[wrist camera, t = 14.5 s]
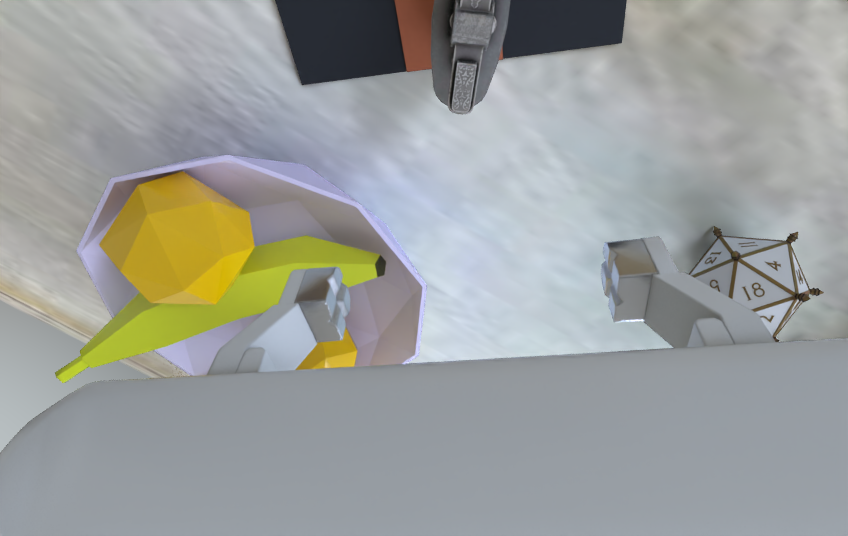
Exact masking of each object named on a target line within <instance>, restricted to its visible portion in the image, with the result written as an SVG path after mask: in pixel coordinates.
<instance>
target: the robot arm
mask: <svg viewBox="0 0 848 536" xmlns="http://www.w3.org/2000/svg"><path fill="white" fill-rule="evenodd" d="M603 255H604V258H605V262H604V263H603V264H602V269H601V277H602V286H603V290H604V293H605V295H606V296H607V297H609V305H608V306H609V309H610V312H611V315H612V318H613V321H614V322H630V321H644V323H646V324H647V325H648V326H649V327H650V328H651V329H653V330H654V331H655V332H656V333H657V334H658V335H660V336H661V337H662V338H663V339H664V340H665V341H667V342H668V343H669V344H670V345H671V346H672V347H673V348H667V349H650V350H633V351H617V352H600V353H582V354H565V355H547V356H530V357H512V358H495V359H478V360H461V361H444V362H427V363H410V364H393V365H375V366H358V367H340V368H323V369H305V370H295V369H296V368H297V367H298V366H299V365H300V364H301V362H302V361H303V360H304V359H305V358H306V357H307V355H308V354H309V353H310V352H311V351H312V350H313V349H314V347H315V346H316V345H317V343H319V342H330V341H340V340H343V336H344V332H345V328H346V323H345V320H344V318H345V317H346V316H347V315H348V314H349V311H350V294H349V290H348V288H347V286H346V285H345V284H343V283H342V278H343V274H342V272H341V269H340V268H339V267H324V268H309V269H298V270H293V271H292V272H291V273H290V276H289V278H288V281H287V283H286V286H285V288H284V291H283V293H282V295H281V298H280V300H279V303H278V305H273V306H272V307H271V308H269V309H268V310H267V311H266V312H264V313H263V314H262V315H261V316H259V317H258V318H257V319H256V320H254V321H253V322H252V323H251V324H250V325H248V326H247V327H246V328H245V329H243V330H242V331H241V332H240V333H238V334H237V335H236V336H235V337H233V338H232V339H231V340H230V341H228V342H227V343H226V344H225V345H224V346H222V347H221V348H220V349H219V350H218V352H217V354H216V356H215V358H214V360H213V363H212V365H211V367H210V369H209V371H208V373H207V375H201V376H183V377H166V378H149V379H132V380H109V381H97V382H92V383H89V384H86V385H84V386H82V387H81V388H79V389H77V390H76V391H74V392H72V393H71V394H69V395H67V396H66V397H64V398H63V399H61V400H60V401H58V402H57V403H55V404H54V405H52V406H51V407H49V408H48V409H46V410H45V411H43V412H42V413H40V414H39V415H38V416H36V417H35V418H33V419H32V420H31V421H29V422H28V423H27V424H26V425H25V426H24V427H23V428H22V429H21V430H20V431H19V432H18V433H17V434H16V435H15V436H14V437H13V439H12V440H11V441H10V442H9V443H8V444H7V445H6V447H5V448H4V449H3V450H2V451H1V453H0V536H848V338H839V339H822V340H805V341H788V342H775V340H774V339H773V337H772V335H771V334H770V332H769V331H768V329H767V327H766V326H765V324H764V323H763V321H762V319H761V318H760V316H759V315H758V314H757V313H756V312H754V311H752V310H750V309H749V308H747V307H745V306H743V305H742V304H740V303H738V302H736V301H734V300H733V299H731V298H729V297H727V296H726V295H724V294H722V293H720V292H719V291H717V290H715V289H713V288H712V287H710V286H708V285H706V284H704V283H703V282H701V281H699V280H697V279H696V278H694V277H692V276H690V275H689V274H687V273H685V272H679V271H678V270H677V268H676V266H675V264H674V262H673V260H672V258H671V256H670V254H669V252H668V250H667V248H666V246H665V244H664V242H663V240H662V239H661V238H660V237H659V236H657V237H648V238H641V239H633V240H623V241H612V242H605V243H604V247H603Z"/></svg>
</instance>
